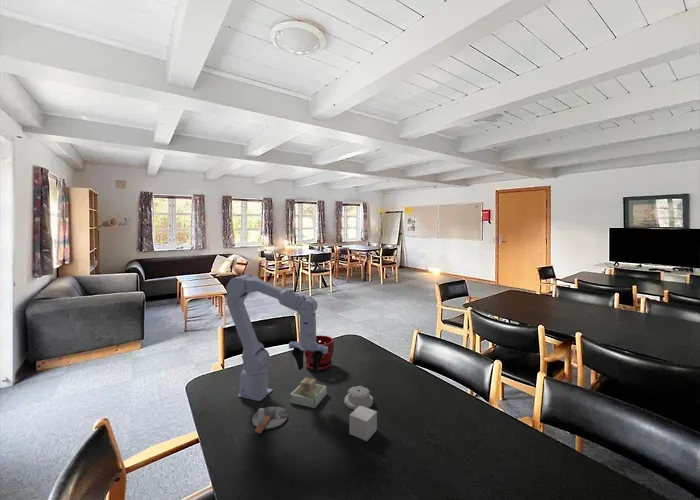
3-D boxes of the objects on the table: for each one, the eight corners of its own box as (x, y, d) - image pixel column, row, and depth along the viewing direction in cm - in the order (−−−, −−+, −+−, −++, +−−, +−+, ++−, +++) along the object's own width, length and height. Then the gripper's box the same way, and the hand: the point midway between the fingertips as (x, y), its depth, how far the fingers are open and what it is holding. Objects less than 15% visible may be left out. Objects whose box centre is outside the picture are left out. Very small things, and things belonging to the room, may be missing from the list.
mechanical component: (341, 409, 107) (371, 412, 105) (341, 396, 107) (371, 399, 105) (347, 394, 117) (374, 396, 115) (347, 382, 117) (374, 385, 115)
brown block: (300, 399, 112) (300, 382, 112) (305, 393, 116) (305, 377, 116) (310, 401, 111) (310, 384, 110) (315, 395, 115) (315, 379, 114)
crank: (267, 411, 104) (266, 394, 103) (277, 412, 103) (277, 395, 103) (252, 433, 93) (251, 414, 93) (263, 434, 93) (263, 415, 92)
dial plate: (244, 425, 99) (244, 422, 99) (265, 406, 109) (265, 403, 109) (275, 432, 95) (275, 429, 95) (294, 412, 105) (293, 409, 105)
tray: (290, 402, 111) (289, 394, 111) (303, 389, 120) (303, 381, 120) (314, 408, 108) (314, 399, 107) (326, 393, 117) (326, 386, 116)
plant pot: (333, 372, 133) (332, 345, 132) (301, 372, 134) (301, 345, 133) (335, 359, 146) (334, 334, 145) (306, 359, 147) (306, 334, 146)
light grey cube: (349, 434, 94) (349, 414, 94) (359, 423, 99) (359, 405, 99) (366, 441, 91) (366, 421, 91) (376, 430, 96) (376, 411, 96)
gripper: (283, 333, 111) (284, 371, 112) (321, 339, 106) (322, 378, 107) (294, 327, 117) (294, 363, 118) (330, 332, 112) (330, 369, 113)
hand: (308, 370), depth 113 cm, fingers open, 5 cm apart
